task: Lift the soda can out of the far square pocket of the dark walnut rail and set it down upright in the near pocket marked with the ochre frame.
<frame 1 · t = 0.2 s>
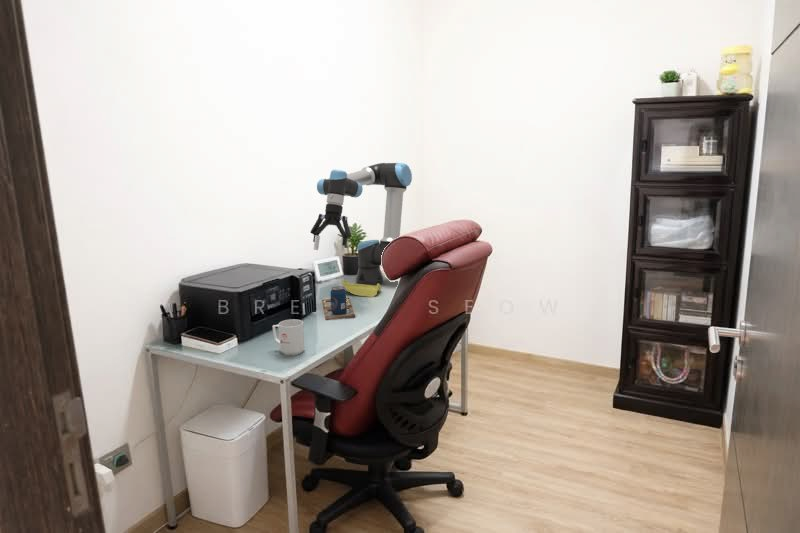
hand: (328, 251, 247), 27 cm above the table, tool tilted 15°, fingers open, 13 cm apart
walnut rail: (337, 309, 254), on the table
plastic component: (361, 293, 281), on the table
soda can: (339, 314, 248), resting in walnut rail
mug: (289, 351, 204), on the table
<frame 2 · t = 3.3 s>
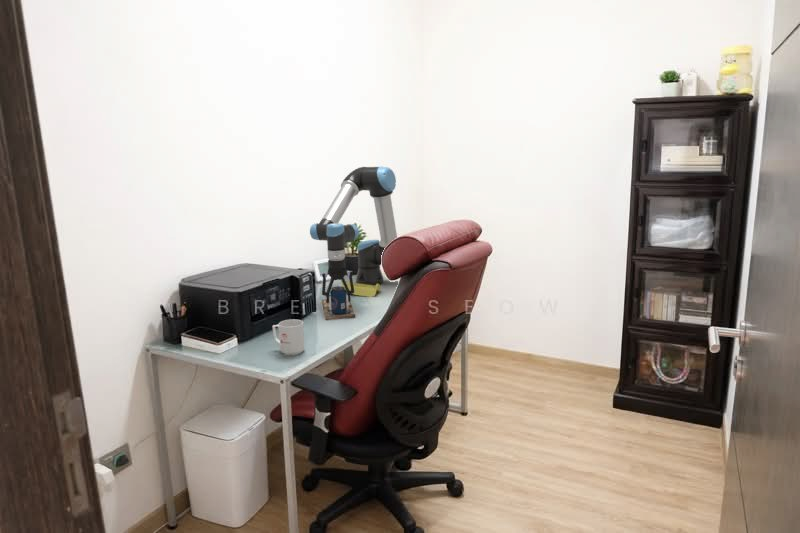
hand: (338, 308, 247), 2 cm above the table, tool pointing down, fingers closed on soda can, 7 cm apart
soda can: (339, 314, 248), resting in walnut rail, touching gripper
everything else where it was.
when the fingers open (3 cm above the table, at t = 9.9 s): soda can stays where it is, resting in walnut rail.
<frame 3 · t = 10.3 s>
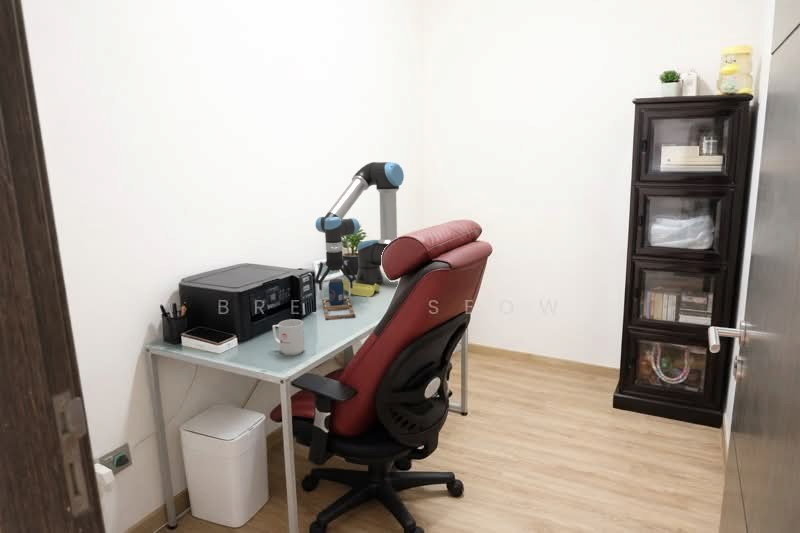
hand: (336, 295, 260), 5 cm above the table, tool pointing down, fingers open, 12 cm apart
soda can: (337, 305, 261), resting in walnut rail
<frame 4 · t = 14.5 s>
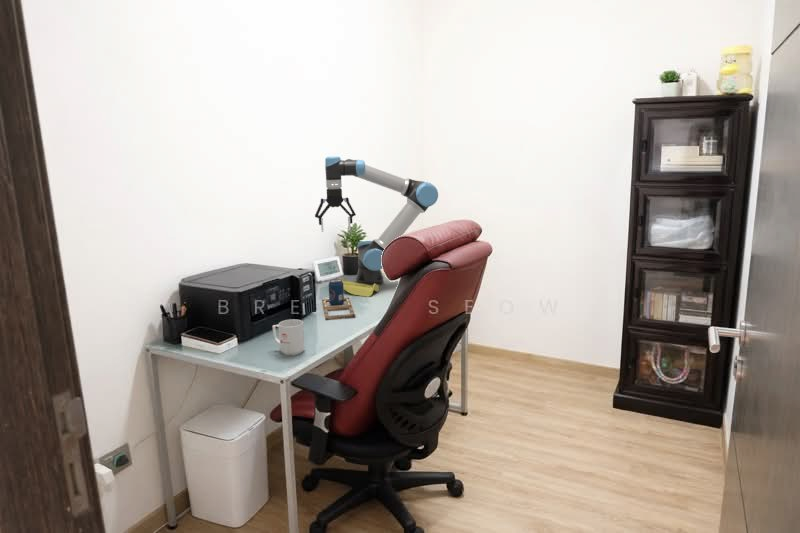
hand: (336, 230, 277), 32 cm above the table, tool pointing down, fingers open, 13 cm apart
at the end: soda can 0.1 cm from the target spot on the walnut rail, point 0.0 cm above the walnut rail's base; soda can tilted 0°; the gripper is holding nothing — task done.
